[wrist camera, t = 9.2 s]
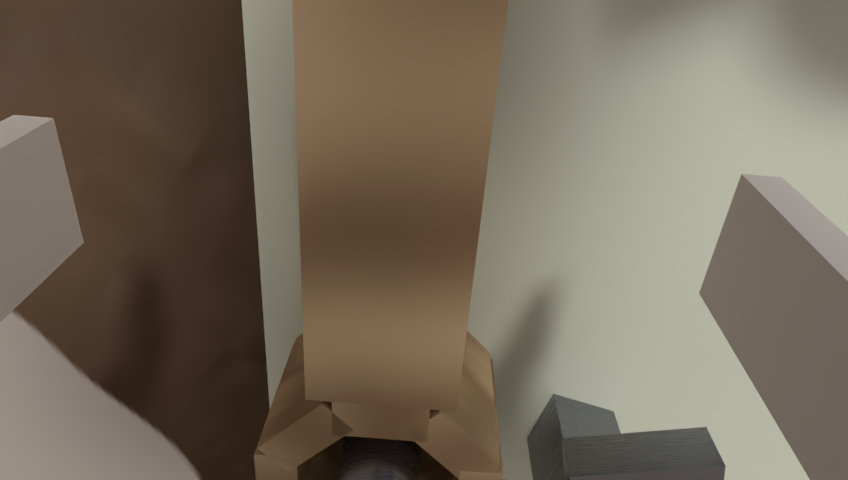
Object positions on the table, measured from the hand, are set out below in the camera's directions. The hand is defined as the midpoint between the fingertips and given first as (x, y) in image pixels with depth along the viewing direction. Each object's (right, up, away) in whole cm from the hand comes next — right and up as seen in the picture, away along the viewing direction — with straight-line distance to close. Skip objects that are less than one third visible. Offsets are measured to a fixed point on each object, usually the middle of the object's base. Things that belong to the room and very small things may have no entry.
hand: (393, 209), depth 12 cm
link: (0, -1, +7) cm, 8 cm away
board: (+7, -1, +9) cm, 11 cm away
